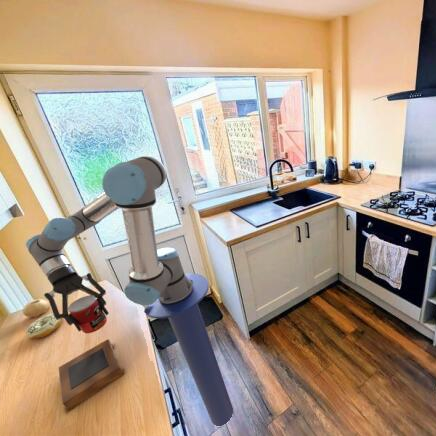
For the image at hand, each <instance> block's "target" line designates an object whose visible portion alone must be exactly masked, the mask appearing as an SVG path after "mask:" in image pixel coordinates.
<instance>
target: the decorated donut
mask: <svg viewBox="0 0 436 436" xmlns="http://www.w3.org/2000/svg"><path fill="white" fill-rule="evenodd" d="M62 320H63V318H62V319H59V320H57V319H56V318H55V316H54V314H53V313H50V314H47V315H44V316H42V317H40V318H38V319H36V320H34V321H33V322H32V323H30V325H29V326H27V328H26V331H25V334H26V336H27V338H29V339H31V338H32V339H40V338H43V337H46V336H48V335H50V334H51V333H53V332H54V331H56V330H57V329H58V328H59V326H60V325H61V323H62Z"/></svg>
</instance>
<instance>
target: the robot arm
mask: <svg viewBox="0 0 436 436" xmlns="http://www.w3.org/2000/svg"><path fill="white" fill-rule="evenodd" d="M167 174H168V173H167V169H166V167H165V165H164V164H163V163H162V162H161V160H159V159H157V158H155V157H153V156H148V155H147V156H139V157H137V158H133V159H131V160H127V161H122V162H119V163H117V164H115V165H113V166H111V167H109V168H108V169H107V170H106V171H105V172H104V173H103V176H102V179H101V186H102V190H103V193H101V194H100V195H98V196H97V197H96V198H95V199H93V200H92V201H91V202H89V203H87V204H86V205H85V206H83V207H82V208H81V209H79V210H78V211H76V212H74V213H73V214H70V215H68V216H66V217H54V218H51V219H50V220H49V221H48V223H47V224H46V225H45V226H44V228H43V230H42V232H41V233H40V234H39V233H38V234H36V235H34V236H31V238H29V239H27V241H26V242H25V247H26V248H27V251H28V253H29V255H31V256H32V258H33V260H34V261H35V262H36V264H37V265H38V267H39V269H40V270H41V271H42V273H43V274H44V276H45V277H47V280H48V282H49V283H50V285H51V286H52V290H51V291H49V292H45V293H44V294H43V296H44V298H45V299H47V301H48V303H49V306H50V308H51V310H52V314H54V316H55V318H56V319H57V320H59V319H62V320H63V319H64V320H65V322H66V323H67V325H68V326H71V325H74V326H75V328H76V329H77V331H78V332H82V330H81V328H80V327H79V325H78V324H77V322H76V321H75V319H74V318H73V316H72V315H71V313H70V312H69V310H68V307H69V296H70V295H72V294H73V293H75V292H78V291H81V292H84V293H86V294H88V296H89V295H92V296H94V297H95V298H96V300H97V301H98V303H99V305H100V307H101V309H102V310H103V312H104V314H105V316H108V315H109V311H108V309H107V308H106V306H107V301H106V300H105V298H104V296H105V295H106V294H107V291H106V290H105V289H104V288H103V287H102V286H101V285H100V283H99V282H97V280H95V279H94V278H93V276H92V274H91V273H90V272H88V273H87V274H85V275H79V273H78V272H77V270H76V269H75V268H74V266H73V265H72V264H71V262H70V261H69V259H68V257H67V256H66V254H65V252H63V249H64V248H65V246H66V244H67V243H68V242H70V240H72V239H73V238H75V237H77V236H79V235H80V234H82V233H84V232H85V231H87V230H89V229H90V228H93V227H95V226H97V225H98V224H99V223H100V222H102V220H105V218H107V217H108V216H110V215H111V214H113V213H114V212H116V211H117V210H119V209H120V210H121V212H122V217H123V218H122V219H123V223H124V230H125V234H126V235H125V236H126V240H127V245H128V250H129V251H128V252H129V256H130V257H129V258H130V261H131V266H130V268H129V269H128V272H127V273H128V279H129V282H128V283H127V284H126V285H125V287H124V290H123V292H124V295H125V297H126V298H127V300H129V301H130V302H132V303H134V304H136V305H140V306H148V305H150V304H152V303H154V302H155V301H156V300H157V299H159V301H160V303H162V304H165V305H171V304H175V303H178V302H181V301H183V300H184V299H186V298H187V297H188V296H189V295H190V294H191V293H192V291H193V284H192V280H189V279H188V278H187V276H186V275H185V274H186V273H185V271H184V269H183V268H184V267H183V265H182V262H181V259H180V256H179V254H178V251H177V249H175V248H173V247H162V248H159V249H158V248H157V247H158V246H157V238H156V231H155V222H154V214H153V206H154V205H156V203H157V197H156V190H158V188H160V187H162V186H163V185H164V184H165V182H166V180H167V176H168V175H167ZM83 280H84V281H86V282H89V284H90V285H91V286H92V287H94V288H95V290H97V291H98V292H99V293H98V292H97V291H95V290H93V289H92V288H89V287H87V286H85V284H83ZM55 294H60V295H61V301H62V303H61V306H62V307H61V309H62V313H60V311H59V308H58V306H57V303H56V301H55V297H56V295H55Z"/></svg>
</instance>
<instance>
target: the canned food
mask: <svg viewBox="0 0 436 436" xmlns="http://www.w3.org/2000/svg"><path fill="white" fill-rule="evenodd" d="M96 299H97V298H95V297H94V296H92V295H89V294H88V295H84V296H81V297H80V298H78V299H75V300H74V301H73V302H71V303H70V304H69V305H68V313H69V314H70V313H71V315H72V316H73V318H74V319H75V321H76V322H77V324H78V325H79V327H80V328H81V332H83V333H84V334H91V333H95V332H97V331H99V330H101V329H102V328H103V327H104V326H105V325H106V324H107V321H108V318H107V315H106V314H105V313H104V311H103V310H102V309H101V307H100V305H99V303H98V301H97V300H96Z"/></svg>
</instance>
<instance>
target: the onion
mask: <svg viewBox="0 0 436 436" xmlns="http://www.w3.org/2000/svg"><path fill="white" fill-rule="evenodd" d="M49 307H50V303H49V301H48V300H46V299H43V298H39V297H37V298H36V299H33V300H30V301H29V302H27V303H26V304H25V305H24V307H23V309H22V313H23V315H24V316H25V317H28V318H34V317H38V316H41V315H43V314H44V313H45V312H47V311H48V309H49Z"/></svg>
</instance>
